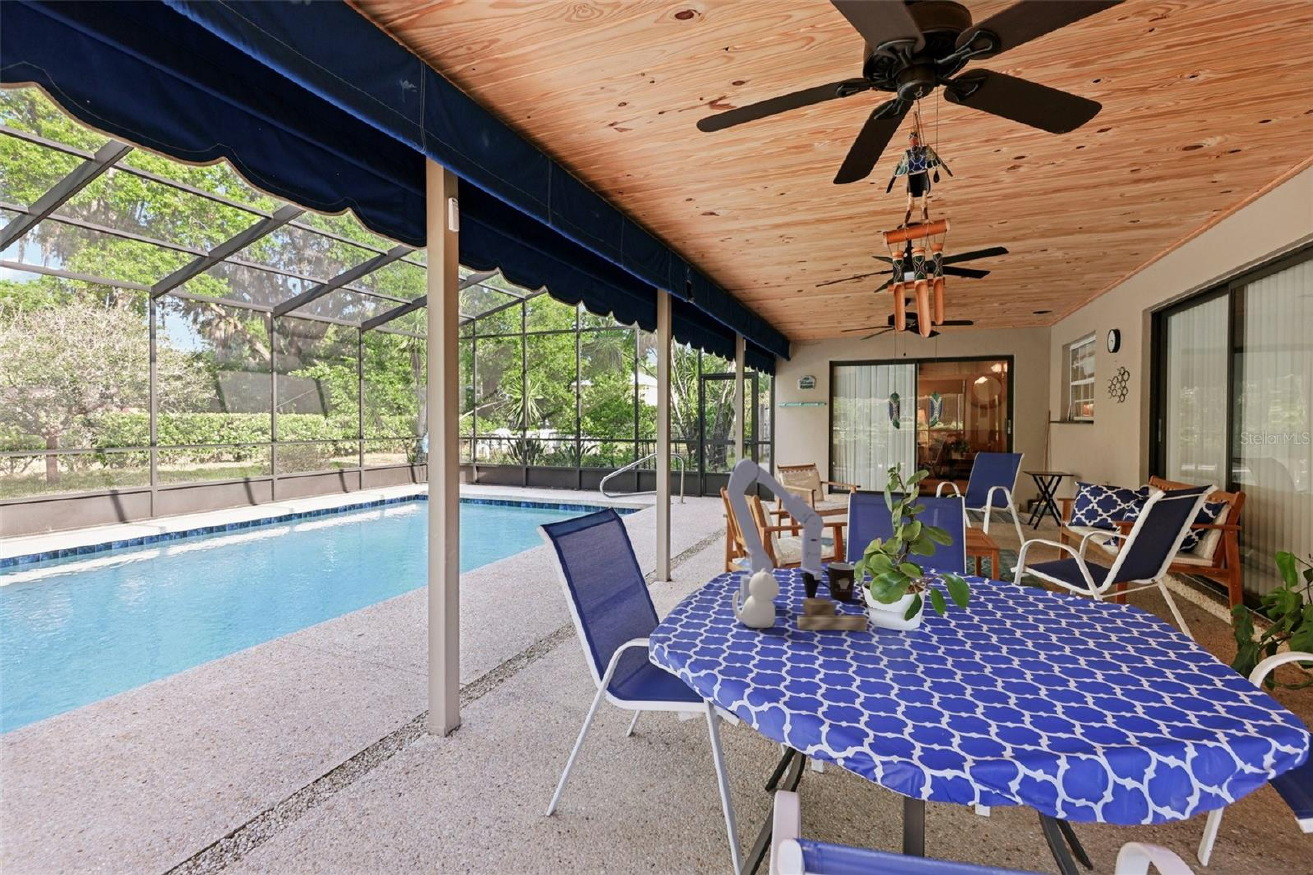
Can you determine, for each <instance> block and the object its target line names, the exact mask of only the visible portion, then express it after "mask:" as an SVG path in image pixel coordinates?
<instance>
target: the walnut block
mask: <svg viewBox="0 0 1313 875" xmlns="http://www.w3.org/2000/svg"><path fill="white" fill-rule="evenodd" d="M802 612H803V614H805V616H836V604H835V603H834V602H833V601H830V599H828V598H827V597H816V598H802Z"/></svg>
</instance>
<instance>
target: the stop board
mask: <svg viewBox="0 0 1313 875" xmlns="http://www.w3.org/2000/svg"><path fill="white" fill-rule="evenodd" d="M796 617H797V618H796V624H797V625H796V627H797V629H799V631H821V630H822V631H867V630H868V618H867V617H866V615H835V616H808V615H800V614H799V615H797V616H796Z"/></svg>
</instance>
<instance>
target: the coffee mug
mask: <svg viewBox="0 0 1313 875" xmlns="http://www.w3.org/2000/svg"><path fill="white" fill-rule="evenodd" d="M826 566H827V570H826V569H825V570H822V572H824V573H825V574H826V576H827V577H828V585H827V584H825V583H824V582H823V581H822V580H821V581H820V583H819V584H821V585H822V586H824V587H825V588H826V589H828V591H829V594H830V599H832V600H835V601H839V600H840V602H841V601H842V602H848V601H852V598H853V592H854V585H855V578H856V576H855V577H854V566H855V565H854V564H849V563H842V562H833V563H828V564H826Z"/></svg>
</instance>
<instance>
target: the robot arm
mask: <svg viewBox="0 0 1313 875" xmlns="http://www.w3.org/2000/svg"><path fill="white" fill-rule="evenodd" d="M753 481H754V482H755V483H758V484H763V485H764V486H765V487H766V488H768V490H770V491H771V492H772V493H773V495H775V496H776V497H777V498H779V500H780V501H781V502H782V508H783V509H784V510H785V511H786V512H787V514H789V515H790V516H791V517H792V518H793V519H794V520H795V521H797V523H799V524H800V526H801V527H802V536H801V561H800V570H801V571H803V572H800V573H799V575H800V577H801V579H802V581H803V585H804V586H803V587H804V591H805V595H806V599H809V598H815V597H816V595H817V592H818V587H819V586H820V584H821V583H820V581H821V582H822V580H823V573H822V572H823V571H822V570H826V567H825V566H822V550H823V549H822V548H823V547H822V546H823V545H822V544H823V543H822V542H823V540H822V539H823V538H822V534H823V533H822V531H823V530H824V528H825V523H824V519H823V517H822V516H820V515H819V514H818V513H817V512H816V511H815V510H816V509H815V508H814V507H812V506H810V505H808V504H807V502H805V501H804V497H803V496H802V495H800V494H797V493H790V492H788V491H787V490H786V489H785V488H784V487H783V486H782V484H781V483H779V482H778V481H777V480H776V478H775V477H774V476H772V475H771V473H769V472H768V471H767V470H766V469H764V468H763V467H761V466H760V465H758V464H757V463H756V462H755V461H753V460H751V459H749V458H747V457H746V458H745V457H743V458H740V459H738V460H737V461H736V462H735V463H734V465H733V467H732V468H731V470H730V476H729V480H728V484H727V489H726V492H727V495H728V498H729V500H730V504H731V506H732V510H733V511H734V516H735V518H736V520H737V524H738V526H739V528H740V531H741V534H742V537H743V539H744V542H745V545H746V550H747V552H748V563H749V566H750V567H751V568H750V569H749V571H748V572H747V574H742V575H740V580H739V582H740V585H739V586H740V587H739V588H740V589H739V590H740V591H739V602H740V603H741V605H742V607H743V606H744V604H745V602H746V600H747V599H748V598H749V597H750V596H751V594H750V591H749V583H750V580H751V578H752V576H753V575H754V574H756V573H758V572H760V571H761V570H762V569H763V568H766V572H767V573H769V574H771V575H772V576H773V577H774V575H773V570H774V563H773V561H772V559H771V558H770V557H769V554H768V553H767V552H766V551H765V548H764V545H763V543H762V540H761V538H760V535H759V532H758V529H757V527H756V524H755V521H754V518H753V515H752V513H751V510H750V507H749V504H748V501H747V499H746V495H745V492H746V490H747V488H748V486H749V485H750V484H751V483H752V482H753ZM771 601H772V603H773V605H774V607H775V609H776V608H777V605H776V604H775V603H774V602H773V600H771Z"/></svg>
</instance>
